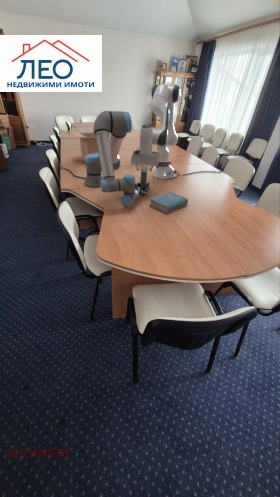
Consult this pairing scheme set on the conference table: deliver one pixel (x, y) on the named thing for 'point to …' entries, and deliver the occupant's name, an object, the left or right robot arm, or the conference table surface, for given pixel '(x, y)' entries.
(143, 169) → the lid
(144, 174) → the dark grey cylinder
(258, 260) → the conference table surface
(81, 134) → the box
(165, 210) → the book
